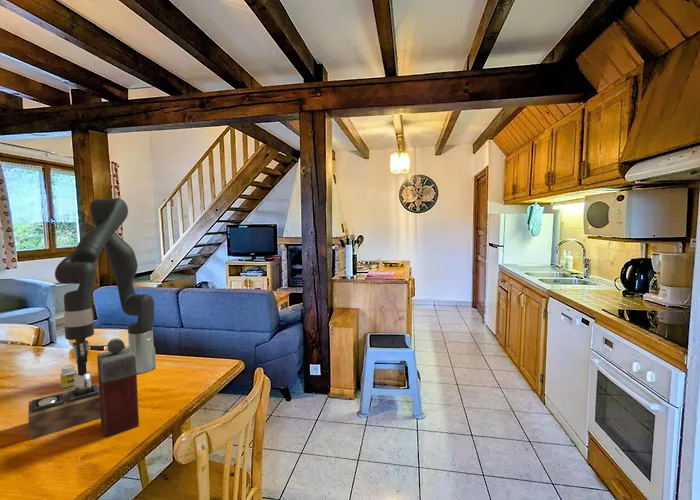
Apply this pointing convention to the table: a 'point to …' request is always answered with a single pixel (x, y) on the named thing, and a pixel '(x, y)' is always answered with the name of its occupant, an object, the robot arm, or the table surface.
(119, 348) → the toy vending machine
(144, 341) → the robot arm
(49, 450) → the table surface
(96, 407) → the brown wooden block
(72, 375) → the supplement bottle
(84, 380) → the peg
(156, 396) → the table surface
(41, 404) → the peg
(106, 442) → the table surface
